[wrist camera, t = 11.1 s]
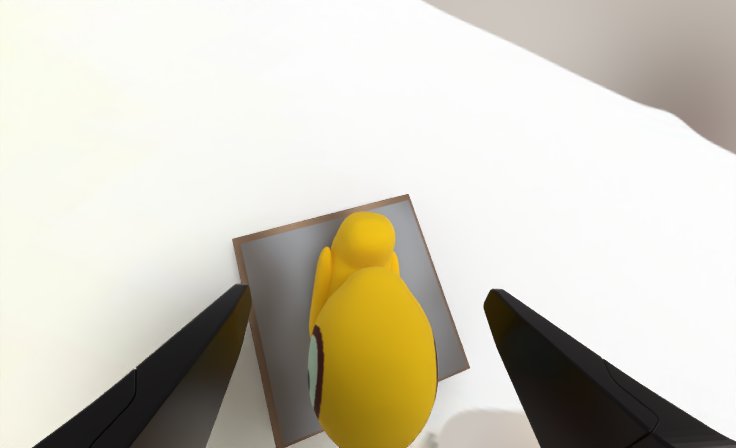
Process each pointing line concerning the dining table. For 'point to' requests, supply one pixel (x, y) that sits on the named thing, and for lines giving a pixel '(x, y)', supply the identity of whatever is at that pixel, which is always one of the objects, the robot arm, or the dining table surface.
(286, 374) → the metal-topped wooden square
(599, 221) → the dining table surface
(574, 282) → the dining table surface
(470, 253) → the dining table surface
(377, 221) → the duckling
